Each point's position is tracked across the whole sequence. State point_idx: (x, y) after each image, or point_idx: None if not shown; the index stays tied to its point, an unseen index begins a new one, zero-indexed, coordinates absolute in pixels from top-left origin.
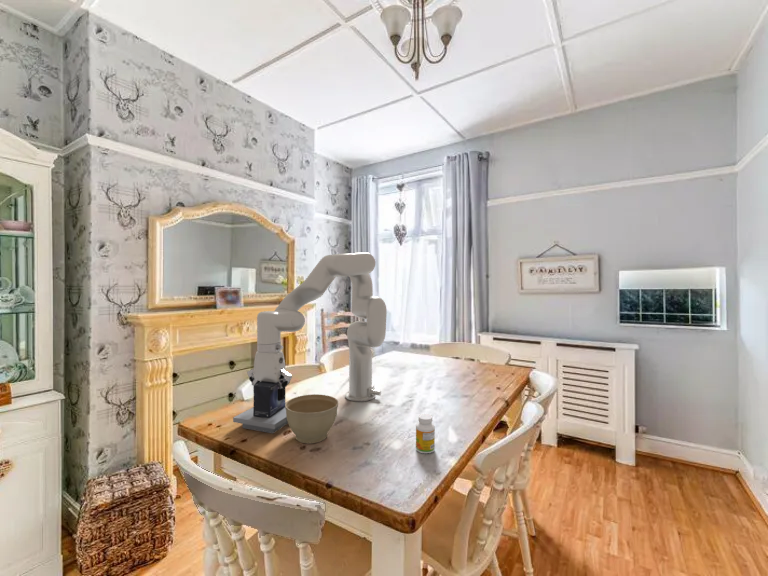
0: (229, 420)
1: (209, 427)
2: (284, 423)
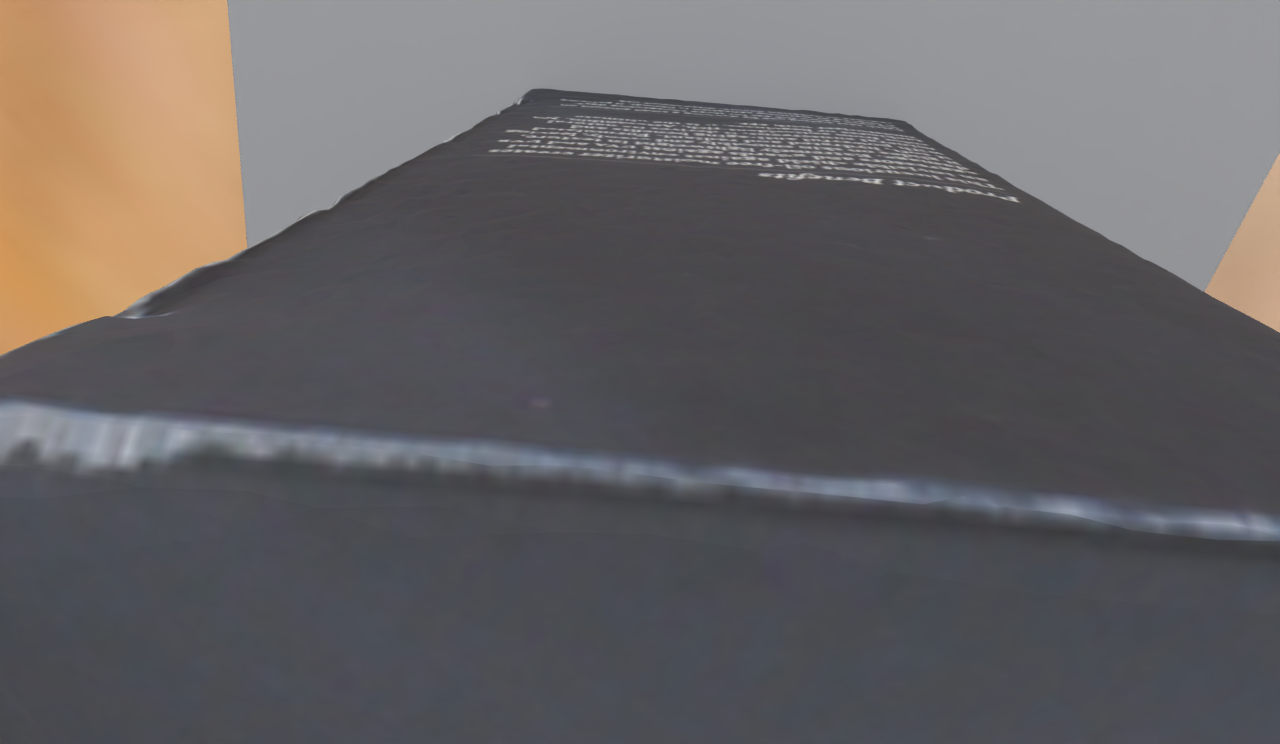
0: (90, 309)
1: None
2: None
